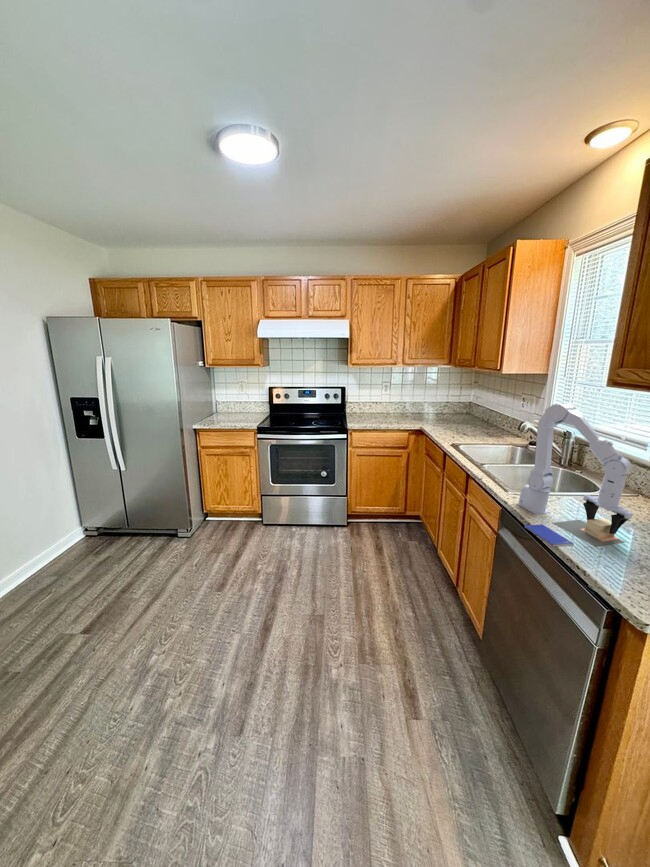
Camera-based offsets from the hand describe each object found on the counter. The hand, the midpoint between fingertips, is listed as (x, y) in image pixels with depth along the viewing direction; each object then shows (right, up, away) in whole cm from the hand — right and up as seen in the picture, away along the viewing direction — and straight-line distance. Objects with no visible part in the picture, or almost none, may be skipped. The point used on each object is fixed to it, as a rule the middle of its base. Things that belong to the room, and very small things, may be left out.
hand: (600, 527), depth 117 cm
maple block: (0, -2, +1) cm, 2 cm away
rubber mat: (-4, -2, +2) cm, 5 cm away
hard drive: (-20, -3, -2) cm, 21 cm away
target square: (0, -2, +1) cm, 3 cm away
